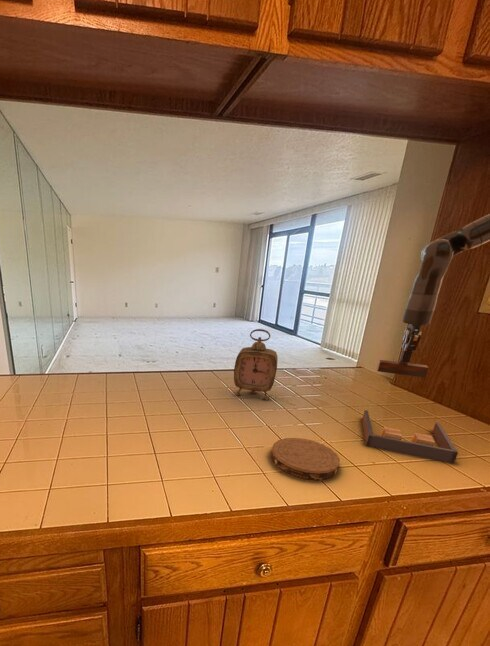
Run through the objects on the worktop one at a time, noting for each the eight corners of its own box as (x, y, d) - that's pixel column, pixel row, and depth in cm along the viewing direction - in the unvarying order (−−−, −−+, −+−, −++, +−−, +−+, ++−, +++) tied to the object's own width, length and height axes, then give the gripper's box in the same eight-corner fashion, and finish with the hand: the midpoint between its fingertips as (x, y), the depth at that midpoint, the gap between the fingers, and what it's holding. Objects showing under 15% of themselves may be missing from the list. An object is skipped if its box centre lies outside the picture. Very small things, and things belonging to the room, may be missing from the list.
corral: (361, 419, 112) (364, 410, 111) (435, 433, 105) (439, 422, 103) (365, 446, 96) (369, 435, 95) (453, 464, 89) (458, 452, 87)
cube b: (410, 445, 98) (414, 432, 96) (427, 448, 96) (431, 435, 95) (412, 451, 94) (417, 438, 93) (430, 455, 93) (435, 442, 91)
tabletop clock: (231, 396, 129) (238, 329, 119) (235, 388, 137) (242, 325, 127) (271, 402, 124) (281, 333, 115) (273, 394, 132) (283, 328, 122)
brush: (377, 371, 120) (384, 344, 117) (376, 369, 123) (383, 342, 119) (425, 377, 115) (434, 349, 111) (423, 375, 117) (432, 347, 114)
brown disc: (307, 443, 97) (309, 434, 96) (352, 475, 83) (355, 465, 82) (258, 452, 92) (260, 442, 91) (297, 487, 78) (299, 476, 77)
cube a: (380, 439, 100) (384, 426, 99) (396, 442, 99) (400, 429, 97) (381, 445, 97) (385, 432, 96) (398, 448, 96) (402, 435, 94)
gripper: (439, 312, 103) (421, 367, 110) (429, 306, 115) (413, 357, 122) (410, 310, 106) (394, 364, 113) (402, 305, 118) (388, 354, 124)
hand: (404, 360), depth 117 cm, fingers closed on brush, 2 cm apart
